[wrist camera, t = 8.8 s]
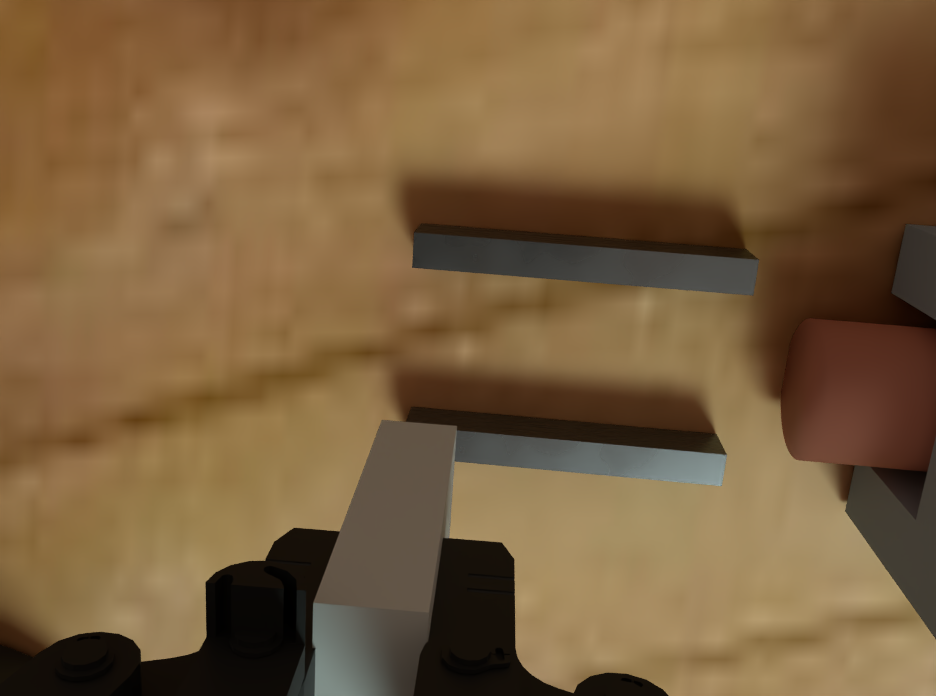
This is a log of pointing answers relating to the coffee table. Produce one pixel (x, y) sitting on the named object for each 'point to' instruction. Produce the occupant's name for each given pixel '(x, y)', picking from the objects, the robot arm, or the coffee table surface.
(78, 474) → the coffee table surface
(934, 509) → the block
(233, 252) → the coffee table surface
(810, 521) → the coffee table surface
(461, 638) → the robot arm
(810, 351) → the dowel
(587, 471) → the rails
